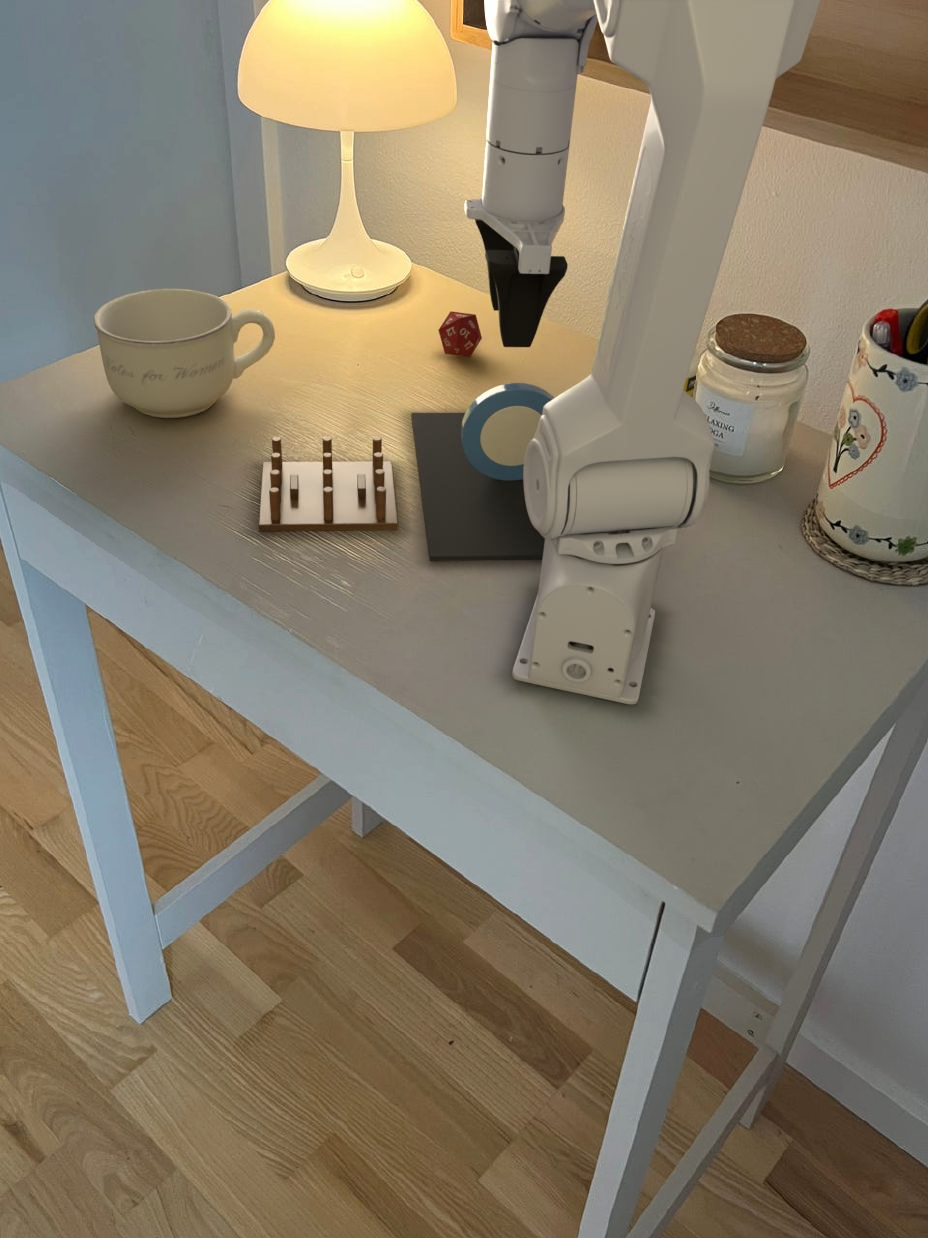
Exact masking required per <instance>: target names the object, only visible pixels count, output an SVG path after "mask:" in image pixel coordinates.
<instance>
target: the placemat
mask: <svg viewBox="0 0 928 1238" xmlns="http://www.w3.org/2000/svg"><path fill="white" fill-rule="evenodd" d="M465 413H466V412H411V415H410V417H411V427H412V433H413V441H414V448H415V449H414V450H415V456H416V464H417V472H418V481H419V488H420V496H421V504H422V512H423V521H424V527H425V537H426V542H427V543H426V544H427V551H428V560H429V562H435V561H437V562H439V561H441V562H445V561H500V560H502V561H505V560H506V561H507V560H514V561H515V560H542V559H543V551H544V543H545V538H544V537H543V536H542V535H541V534H540V533H539V531H537V530H536V529H535V528H534V526H533V525H532V523H531V521H530V518H529V515H528V512H527V507H526V502H525V495H524V483H523V479H522V480H516V481H504V480H498V479H494V478H491V477H488V476H486V475H484V474H482V473H481V472H479V471H478V470H477V469H475V468H474V467H473V466H472V465H471V463H470V462H469V461H468V459H467V458H466V455H465V453H464V450H463V447H462V442H461V424H462V421H463V417H464V415H465Z"/></svg>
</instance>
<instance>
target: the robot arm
mask: <svg viewBox="0 0 928 1238" xmlns="http://www.w3.org/2000/svg"><path fill="white" fill-rule="evenodd" d="M820 3H821V0H484V16H485V23H486V24H485V25H486V28H487V32H488V35H489V38H490V39H491V41H492V45H491V47H492V48H491V59H490V60H491V63H490V77H489V89H488V91H489V93H488V105H487V118H486V119H487V121H486V133H485V135H486V136H485V137H486V138H485V150H484V151H485V152H484V164H483V165H484V167H483V168H484V169H483V181H482V195H481V198H479V199H474V198H473V199H466V200H465V201H464V212H465V216H466V218H467V219H470V220H474V221H475V225H476V227H477V229H478V231H479V234H480V237H481V239H482V243H483V248H484V257H485V260H486V261H485V262H486V266H487V267H486V268H487V277H488V286H489V287H488V288H489V296H490V303H491V306H492V309H493V311H497V312H498V323H499V324H498V325H499V333H500V338H501V343H502V346H503V347H504V348H531V346H532V344H533V342H534V339H535V337H536V334H537V332H538V329H539V326H540V323H541V319H542V316H543V314H544V311H545V308H546V307H547V304H548V302H549V300H550V298H551V296H552V294H553V293H554V291H555V289H556V288H557V286H558V285H559V283H560V282H561V281H562V280H563V279H564V278H565V276H566V274H567V271H568V266H569V265H568V261H567V259H566V257H565V256H564V255H552V250H553V245H552V244H553V242H554V241H555V239H556V237H557V235H558V232H559V231H560V229H561V227H562V226H563V223H564V220H565V214H566V209H565V208H566V207H565V206H564V197H565V188H566V179H567V172H568V171H567V170H568V163H569V162H568V161H569V155H570V146H571V145H570V144H571V136H572V127H573V118H574V110H575V102H576V92H577V84H578V83H577V82H578V76H579V75H581V74H583V73H584V71H585V69H586V68H585V67H586V66H587V61H588V54H589V48H590V43H591V40H592V37H593V35H594V33H595V30H596V26H597V23H598V25H599V28H600V30H601V33H602V34H603V37H604V41H605V45H606V49H607V53H608V57H609V60H610V62H611V63H613V64H614V65H616V66H618V67H619V68H621V69H622V70H624V71H625V72H626V73H628V74H630V75H632V76H633V77H635V78H636V79H638V80H639V81H641V82H642V83H644V84H645V85H646V86H647V87H648V90H649V94H650V103H649V108H648V112H647V116H646V122H645V126H644V130H643V135H642V139H641V144H640V147H639V148H640V149H639V153H638V158H637V162H636V167H635V172H634V176H633V180H632V184H631V190H630V194H629V198H628V203H627V207H626V212H625V216H624V222H623V226H622V229H621V230H622V231H621V236H620V240H619V243H618V249H617V252H616V257H615V261H614V262H615V263H614V266H613V271H612V276H611V280H610V286H609V290H608V295H607V299H606V303H605V307H604V312H603V317H602V321H601V326H600V331H599V335H598V339H597V344H596V349H595V353H594V357H593V362H592V367H591V372H590V374H589V375H588V376H586V377H585V378H583V379H582V380H581V381H579V382H578V383H576V384H575V385H573V386H571V387H570V388H568V389H566V390H565V391H563V392H562V393H560V394H559V395H557V396H556V397H554V399H553V400H551V401H550V402H548V403H547V404H546V405H545V406H544V407H543V412H542V416H541V418H540V419H539V423H538V427H537V430H536V433H535V435H534V437H533V439H532V440H531V442H530V443H529V444H528V446H527V449H526V453H525V458H524V469H523V483H524V495H525V502H526V507H527V512H528V515H529V518H530V521H531V523H532V525H533V526H534V528H535V529H536V530H537V531H539V533H540V534H541V535H542V536H543V537H544V538H545V543H544V551H543V559H541V568H540V576H539V581H538V582H539V583H538V591H537V594H536V598H535V600H534V604H533V608H532V610H531V613H530V616H529V619H528V622H527V625H526V628H525V631H524V634H523V637H522V641H521V642H520V643H521V644H520V647H519V648H518V649H519V650H518V651H517V652H518V653H517V655H516V659H515V661H514V665H513V667H512V671H511V676H512V679H514V680H515V681H519V682H523V683H527V684H533V685H537V686H542V687H546V688H551V689H556V690H561V691H565V692H570V693H574V694H579V695H584V696H589V697H592V698H598V699H602V700H606V701H612V702H615V703H616V702H617V703H621V704H626V705H632V706H633V705H636V704H637V703H638V702H639V698H640V694H641V688H642V683H643V678H644V673H645V668H646V663H647V658H648V652H649V647H650V642H651V637H652V632H653V626H654V622H655V617H656V610H655V609H654V608H652V604H653V598H654V594H655V589H656V584H657V580H658V575H659V570H660V566H661V561H662V557H663V552H664V548H665V547H669V546H675V545H676V542H677V538H678V533H679V529H687V528H689V527H692V526H693V525H695V523H696V522H697V520H698V519H699V517H700V515H701V514H702V512H703V511H704V509H705V507H706V504H707V501H708V496H709V491H710V469H711V461H712V457H713V452H714V448H715V441H714V437H713V432H712V429H711V426H710V424H709V421H708V419H707V417H706V414H705V412H704V410H703V409H702V407H701V406H700V404H699V403H698V402H697V400H696V399H695V398H694V399H693V398H692V397H691V396H690V395H689V394H688V393H686V392H685V391H684V390H683V389H684V385H685V382H686V379H687V375H688V372H689V369H690V365H691V362H692V359H693V355H694V352H695V350H697V349H696V348H697V346H698V343H699V339H700V335H701V332H702V329H703V325H704V323H705V319H706V315H707V311H708V309H709V304H710V302H711V299H712V295H713V292H714V288H715V286H716V282H717V279H718V276H719V271H720V269H721V266H722V262H723V258H724V255H725V252H726V249H727V245H728V242H729V238H730V235H731V233H732V230H733V229H732V228H733V225H734V222H735V218H736V216H737V213H738V212H737V211H738V209H739V206H740V202H741V199H742V195H743V193H744V188H745V185H746V182H747V178H748V176H749V172H750V169H751V166H752V162H753V160H754V159H753V158H754V155H755V152H756V148H757V146H758V142H759V138H760V135H761V132H762V130H763V129H762V128H763V126H764V125H763V124H764V122H765V118H766V116H767V112H768V108H769V105H770V101H771V99H772V95H773V92H774V88H775V84H776V81H777V80H776V79H778V78H779V77H781V76H782V75H783V74H785V73H786V72H788V71H789V70H790V69H792V68H793V67H794V66H796V65H797V64H798V63H800V61H801V60H802V57H803V54H804V51H805V48H806V46H807V42H808V39H809V36H810V33H811V30H812V29H813V28H812V27H813V25H814V22H815V19H816V16H817V13H818V10H819V6H820ZM697 342H698V343H697ZM696 345H697V346H696Z"/></svg>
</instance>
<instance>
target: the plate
mask: <svg viewBox="0 0 928 1238" xmlns="http://www.w3.org/2000/svg"><path fill="white" fill-rule="evenodd" d="M554 398H555V397H554V396H553V395H552V394H551V393H550V392H548V391H546V390H545V389H544V388H541V387H539V386H537V385H534V384H530V383H524V382H510V383H504V384H501V385H497V386H495V387H492V388H490V389H488V390H486V391H484V392H483V393H482V394H480V395H479V396H477V398H475V400H473V401H472V403H471V404H470V405H469V407H468V408H467V410H466V411H465V412H464V413H465V415H464V417H463V421H462V424H461V442H462V447H463V450H464V453H465V455H466V458H467V459H468V461H469V462H470V463H471V465H472V466H473V467H474V468H475V469H477V470H478V471H479V472H481V473H482V474H484V475H486V476H488V477H491V478H494V479H498V480H504V481H516V480H522V479H523V469H524V458H525V453H526V449H527V446H528V444H529V443H530V442H531V440H532V439H533V437H534V435H535V433H536V430H537V427H538V423H539V419H540V418H541V416H542V412H543V407H544V406H545V405H546V404H547V403H548V402H550V401H551V400H553V399H554Z"/></svg>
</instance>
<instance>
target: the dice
mask: <svg viewBox="0 0 928 1238" xmlns="http://www.w3.org/2000/svg"><path fill="white" fill-rule="evenodd" d="M438 334H439V337H440V338H439V339H440V342H441V344H442V345H441V346H442V348H443V351H444V354H445V355H451V356H457V357H458V356H459V357H467V358H471V357H472V355H473V353H474V352H475V350H476V349H477V347H478V345H479V344H480V342H481V341H482V339H483V336H482V332H481V328H480V325H479V321H478V318H477V314H474V313H468V312H467V313H466V312H458V311H450V312H449V313H448V314H447V316H446V318H445V319H444V321H443V322H442V324H441V325H440V327H439V329H438Z"/></svg>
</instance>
